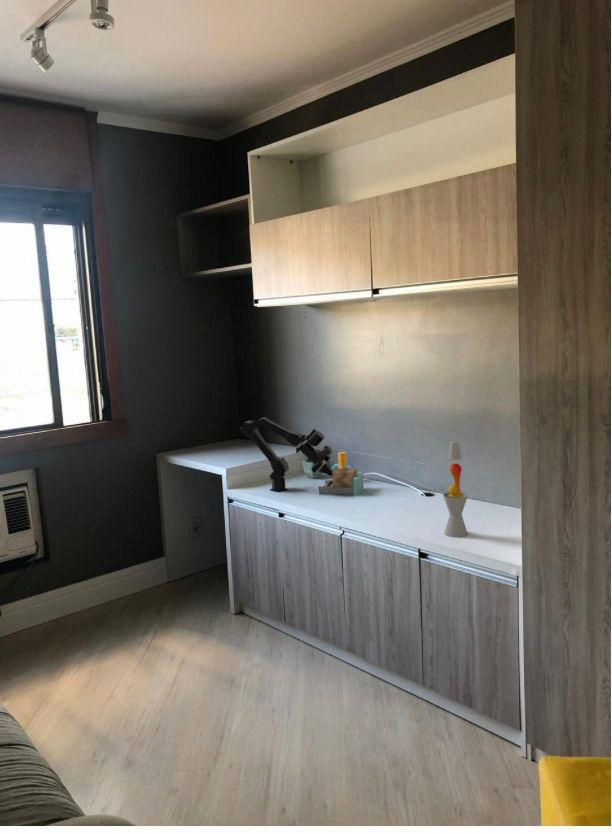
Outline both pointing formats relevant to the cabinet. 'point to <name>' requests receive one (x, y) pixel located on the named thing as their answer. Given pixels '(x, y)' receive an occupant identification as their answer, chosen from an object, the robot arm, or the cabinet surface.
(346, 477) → the brown wooden block
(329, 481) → the roller bed
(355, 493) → the stop bar
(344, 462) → the orange post with rings
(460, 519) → the lava lamp
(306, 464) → the flower pot
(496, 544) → the cabinet surface
